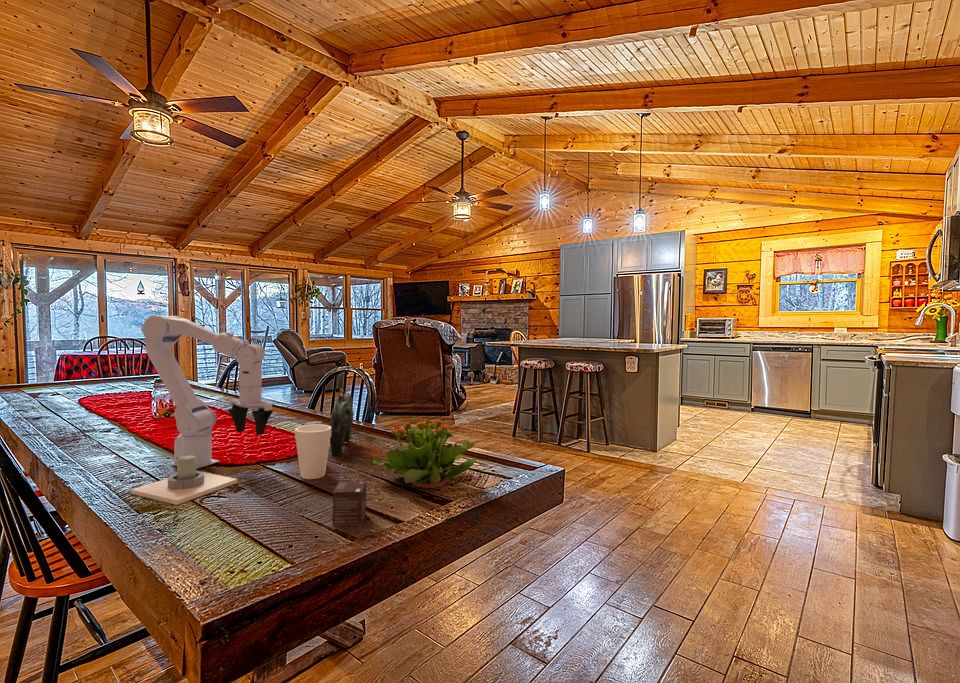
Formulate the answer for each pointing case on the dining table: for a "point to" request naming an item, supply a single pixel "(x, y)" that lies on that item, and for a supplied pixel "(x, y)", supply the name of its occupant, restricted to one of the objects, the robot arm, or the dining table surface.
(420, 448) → the potted flower
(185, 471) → the grey rounded piece
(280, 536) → the dining table surface
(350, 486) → the box
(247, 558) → the dining table surface
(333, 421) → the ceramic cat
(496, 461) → the dining table surface
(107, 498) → the dining table surface
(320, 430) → the foam cup
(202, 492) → the socket plate
